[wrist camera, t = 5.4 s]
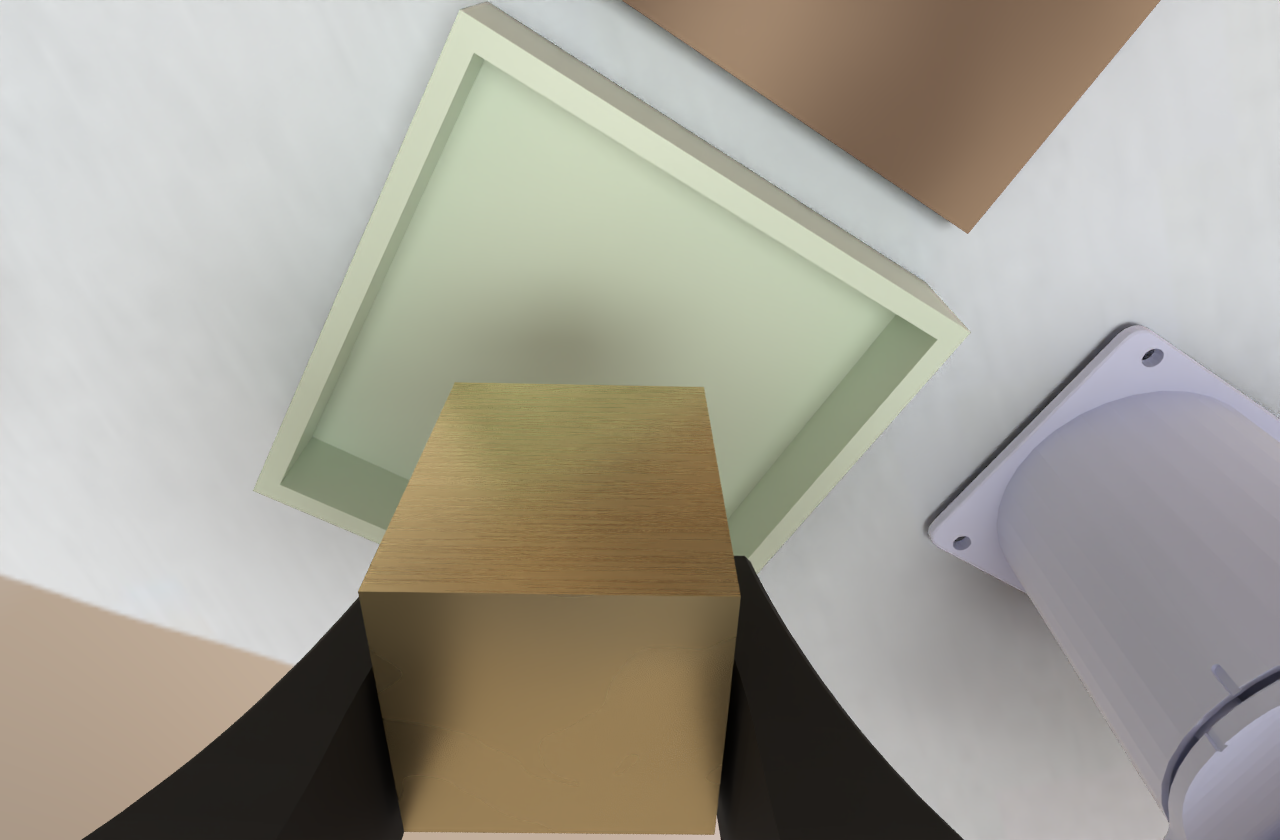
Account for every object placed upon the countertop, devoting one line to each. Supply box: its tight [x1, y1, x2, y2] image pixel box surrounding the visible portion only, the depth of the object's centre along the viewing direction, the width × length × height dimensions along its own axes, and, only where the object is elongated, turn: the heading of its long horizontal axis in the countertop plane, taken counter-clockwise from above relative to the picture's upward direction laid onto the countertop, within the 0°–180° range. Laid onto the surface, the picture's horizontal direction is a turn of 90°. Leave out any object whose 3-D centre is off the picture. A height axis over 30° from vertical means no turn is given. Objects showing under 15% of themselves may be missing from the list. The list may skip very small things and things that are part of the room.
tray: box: [253, 2, 971, 574], centre depth 19 cm, size 12×12×3 cm
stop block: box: [358, 382, 741, 835], centre depth 11 cm, size 4×4×5 cm
